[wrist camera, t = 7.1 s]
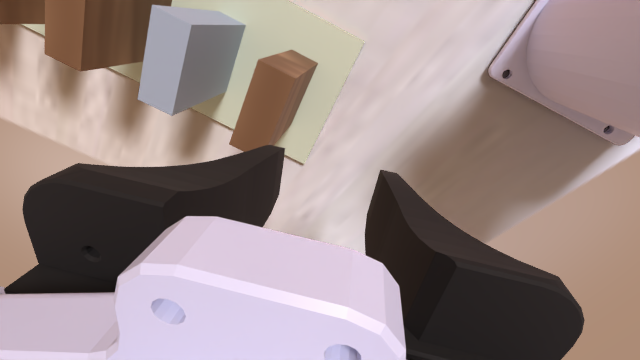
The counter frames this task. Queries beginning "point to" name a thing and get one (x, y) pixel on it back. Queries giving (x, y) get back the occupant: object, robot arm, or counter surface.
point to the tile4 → (22, 11)
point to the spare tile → (187, 57)
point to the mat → (269, 39)
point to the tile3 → (97, 31)
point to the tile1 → (272, 99)
